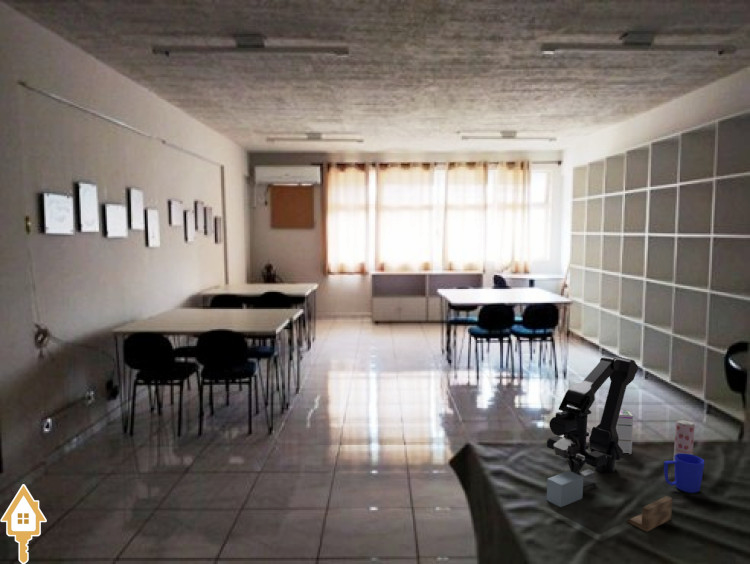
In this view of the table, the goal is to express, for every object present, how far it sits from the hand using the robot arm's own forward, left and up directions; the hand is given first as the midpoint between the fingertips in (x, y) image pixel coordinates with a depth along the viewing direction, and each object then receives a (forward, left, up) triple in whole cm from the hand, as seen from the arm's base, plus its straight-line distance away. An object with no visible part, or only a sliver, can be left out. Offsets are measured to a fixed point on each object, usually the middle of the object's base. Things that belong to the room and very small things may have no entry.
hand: (574, 476), depth 174 cm
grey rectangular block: (0, +3, -2) cm, 3 cm away
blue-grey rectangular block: (+12, +6, -3) cm, 14 cm away
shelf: (0, +14, -3) cm, 14 cm away
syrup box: (-39, -8, -3) cm, 40 cm away
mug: (-27, +20, -3) cm, 33 cm away
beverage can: (-47, +10, -3) cm, 48 cm away
